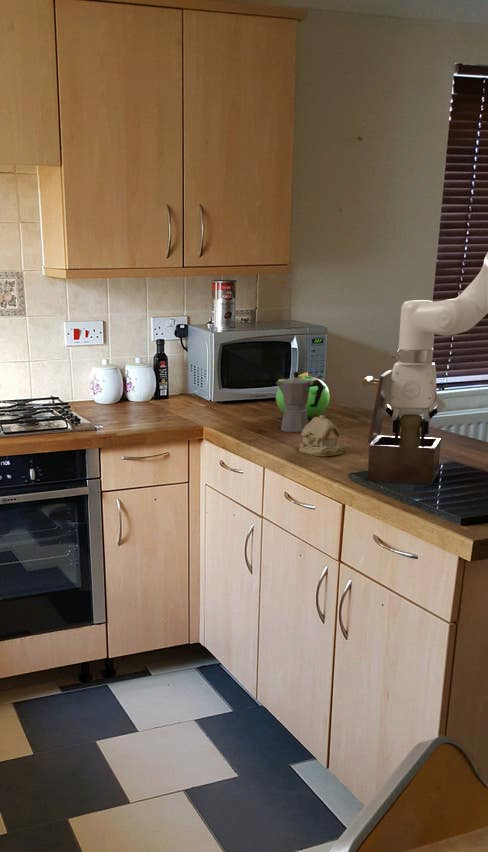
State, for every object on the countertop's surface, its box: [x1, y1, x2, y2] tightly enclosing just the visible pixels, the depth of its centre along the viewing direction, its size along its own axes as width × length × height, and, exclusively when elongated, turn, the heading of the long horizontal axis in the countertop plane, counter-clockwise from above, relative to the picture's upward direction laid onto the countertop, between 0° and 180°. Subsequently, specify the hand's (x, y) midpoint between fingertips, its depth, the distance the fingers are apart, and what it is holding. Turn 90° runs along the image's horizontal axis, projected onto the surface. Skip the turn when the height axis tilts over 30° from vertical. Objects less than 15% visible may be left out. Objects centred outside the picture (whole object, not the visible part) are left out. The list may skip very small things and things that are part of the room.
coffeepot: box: [275, 371, 324, 433], centre depth 272 cm, size 15×9×18 cm, turn 63°
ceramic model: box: [298, 414, 344, 457], centre depth 239 cm, size 14×11×10 cm
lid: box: [360, 369, 393, 444], centre depth 205 cm, size 15×13×5 cm
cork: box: [398, 412, 423, 447], centre depth 204 cm, size 6×6×11 cm
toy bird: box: [275, 372, 331, 419], centre depth 295 cm, size 18×17×15 cm
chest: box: [367, 435, 442, 486], centre depth 206 cm, size 15×13×9 cm
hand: (410, 436), depth 204 cm, fingers closed on cork, 5 cm apart
